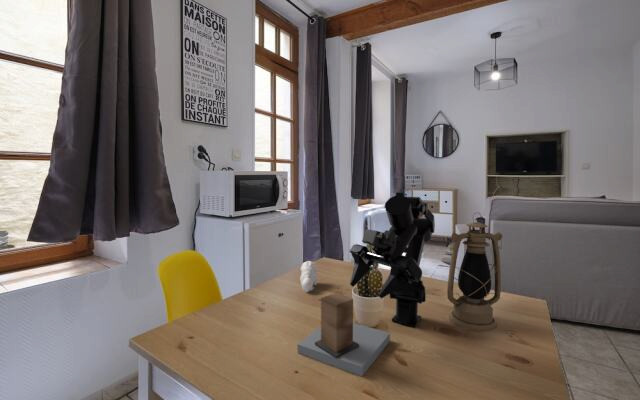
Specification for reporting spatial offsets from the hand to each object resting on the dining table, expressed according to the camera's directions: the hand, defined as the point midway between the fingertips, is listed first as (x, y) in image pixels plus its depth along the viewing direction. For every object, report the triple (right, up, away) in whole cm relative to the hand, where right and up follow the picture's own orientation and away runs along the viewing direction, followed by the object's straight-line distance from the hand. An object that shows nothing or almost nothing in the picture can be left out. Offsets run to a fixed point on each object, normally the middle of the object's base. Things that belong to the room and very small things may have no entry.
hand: (365, 291), depth 73 cm
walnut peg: (-7, -14, -1) cm, 15 cm away
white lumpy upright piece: (-14, -10, +40) cm, 44 cm away
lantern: (+32, -13, +15) cm, 37 cm away
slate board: (-4, -14, +2) cm, 14 cm away
